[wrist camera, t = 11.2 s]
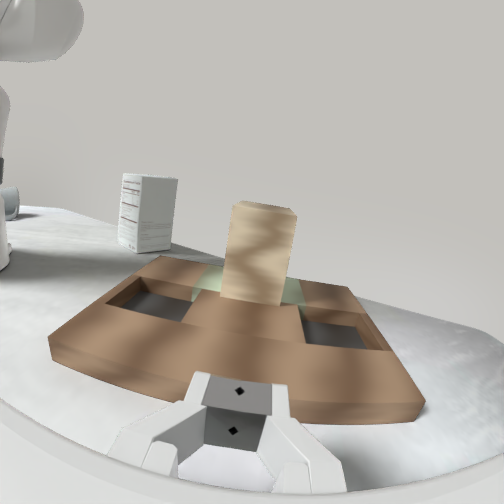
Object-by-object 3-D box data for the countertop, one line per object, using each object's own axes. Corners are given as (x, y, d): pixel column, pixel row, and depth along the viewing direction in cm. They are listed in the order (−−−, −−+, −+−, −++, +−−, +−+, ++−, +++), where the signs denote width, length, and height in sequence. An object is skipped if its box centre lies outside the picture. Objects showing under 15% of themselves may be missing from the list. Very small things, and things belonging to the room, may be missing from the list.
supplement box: (149, 240, 54) (156, 175, 51) (171, 250, 50) (179, 178, 47) (116, 243, 48) (122, 172, 45) (135, 254, 44) (143, 174, 41)
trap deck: (52, 359, 16) (47, 336, 15) (159, 269, 39) (160, 255, 39) (413, 421, 15) (425, 400, 15) (343, 300, 39) (347, 286, 38)
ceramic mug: (-12, 216, 51) (-11, 187, 49) (13, 213, 58) (14, 185, 56) (-5, 223, 46) (-4, 190, 45) (23, 220, 54) (24, 189, 52)
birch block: (219, 296, 29) (232, 205, 27) (232, 268, 38) (242, 200, 36) (279, 306, 29) (297, 216, 26) (277, 276, 38) (289, 208, 36)
